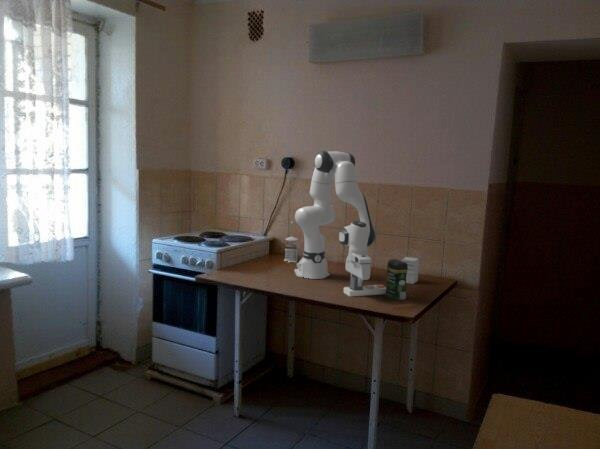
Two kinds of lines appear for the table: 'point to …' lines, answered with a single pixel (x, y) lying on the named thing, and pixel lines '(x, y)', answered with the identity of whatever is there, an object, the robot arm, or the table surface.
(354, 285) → the block
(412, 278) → the supplement box
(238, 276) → the table surface
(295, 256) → the french press
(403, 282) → the coffee jar
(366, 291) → the power strip
